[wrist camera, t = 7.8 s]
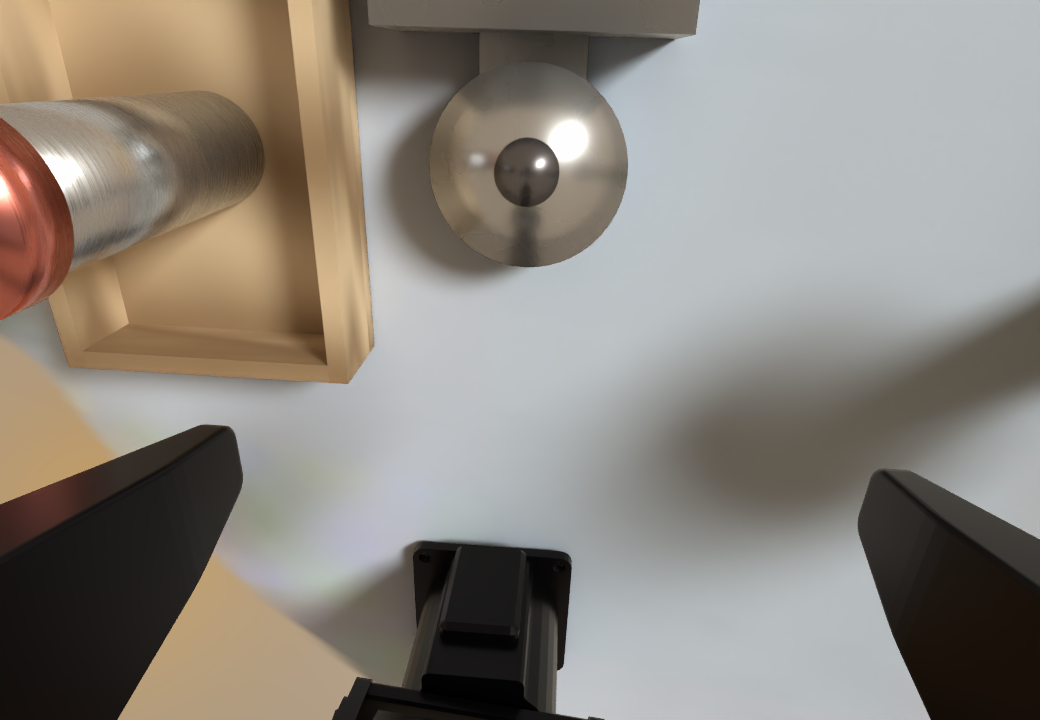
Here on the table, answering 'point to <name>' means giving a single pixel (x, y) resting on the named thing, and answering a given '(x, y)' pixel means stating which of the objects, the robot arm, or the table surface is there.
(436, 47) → the table surface
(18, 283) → the pin
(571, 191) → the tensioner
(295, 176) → the tray
